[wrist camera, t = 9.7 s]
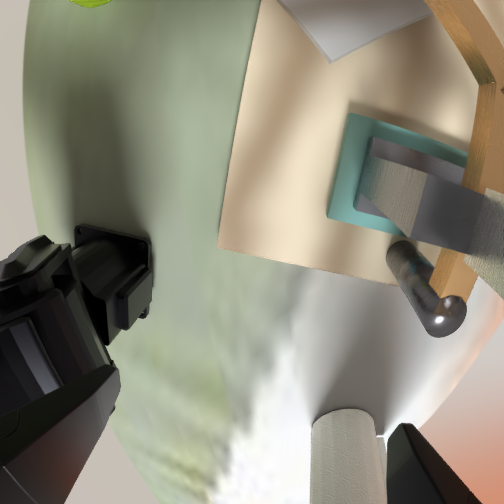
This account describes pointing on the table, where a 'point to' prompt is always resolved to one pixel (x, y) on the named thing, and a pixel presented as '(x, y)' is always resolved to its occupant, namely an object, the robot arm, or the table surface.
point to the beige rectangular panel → (340, 125)
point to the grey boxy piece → (434, 205)
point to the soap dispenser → (90, 2)
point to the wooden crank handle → (475, 174)
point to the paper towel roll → (347, 460)
